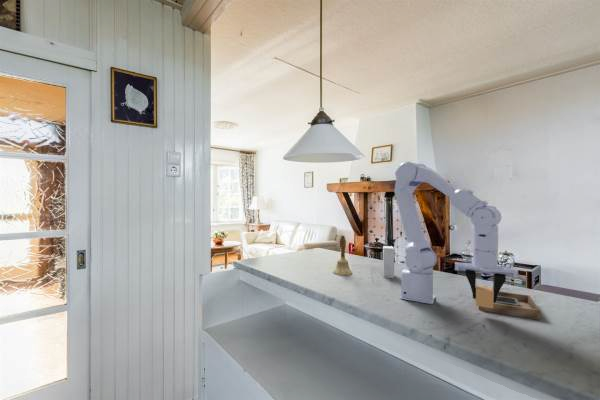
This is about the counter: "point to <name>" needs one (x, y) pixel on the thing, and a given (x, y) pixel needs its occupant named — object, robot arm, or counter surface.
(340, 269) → the hand bell
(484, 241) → the robot arm
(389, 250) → the skincare box
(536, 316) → the box
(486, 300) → the plug
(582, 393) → the counter surface
